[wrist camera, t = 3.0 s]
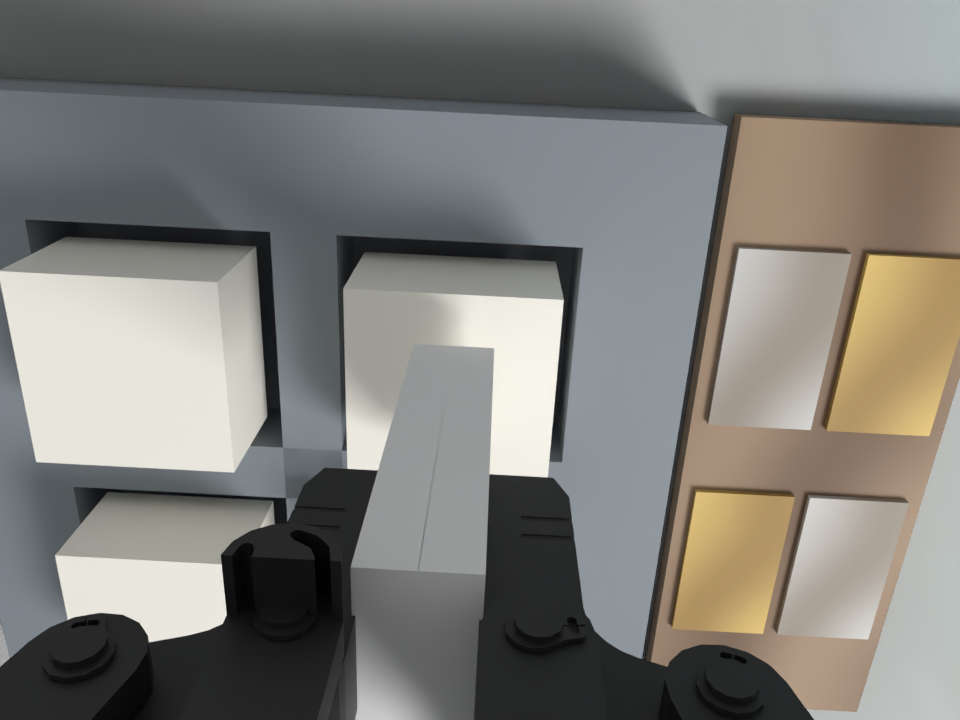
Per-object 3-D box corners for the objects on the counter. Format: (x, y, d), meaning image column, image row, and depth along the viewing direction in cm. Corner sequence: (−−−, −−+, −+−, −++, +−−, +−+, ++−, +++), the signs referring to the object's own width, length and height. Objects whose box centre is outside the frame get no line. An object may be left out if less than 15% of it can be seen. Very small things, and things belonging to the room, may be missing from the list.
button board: (68, 653, 25) (24, 718, 23) (-50, 75, 18) (-130, 83, 16) (615, 683, 25) (627, 751, 23) (699, 111, 18) (727, 125, 16)
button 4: (128, 622, 22) (83, 697, 20) (107, 492, 20) (54, 555, 18) (282, 631, 22) (254, 706, 20) (273, 500, 20) (242, 565, 18)
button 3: (93, 407, 19) (36, 462, 17) (66, 236, 18) (-3, 270, 15) (267, 416, 19) (233, 472, 17) (255, 246, 18) (217, 282, 15)
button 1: (366, 421, 19) (347, 478, 17) (364, 251, 18) (343, 288, 15) (541, 430, 19) (546, 489, 17) (556, 261, 18) (563, 299, 15)
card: (641, 685, 25) (645, 704, 24) (734, 114, 18) (743, 117, 17) (849, 696, 25) (858, 715, 24) (1018, 128, 18) (1039, 132, 17)
